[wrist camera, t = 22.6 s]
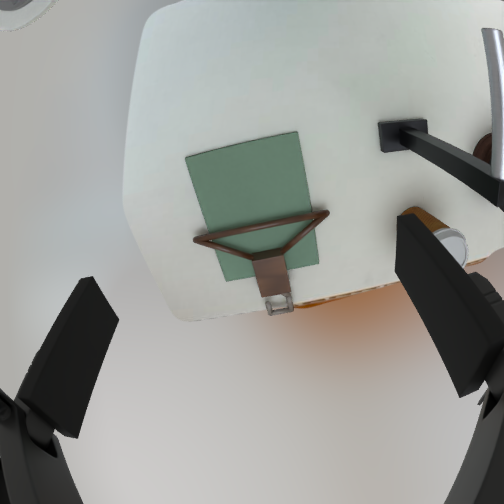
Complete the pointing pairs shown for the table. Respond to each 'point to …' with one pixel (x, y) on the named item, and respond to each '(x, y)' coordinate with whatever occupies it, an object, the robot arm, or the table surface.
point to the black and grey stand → (448, 156)
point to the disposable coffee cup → (444, 235)
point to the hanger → (268, 255)
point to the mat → (255, 199)
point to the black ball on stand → (485, 152)
